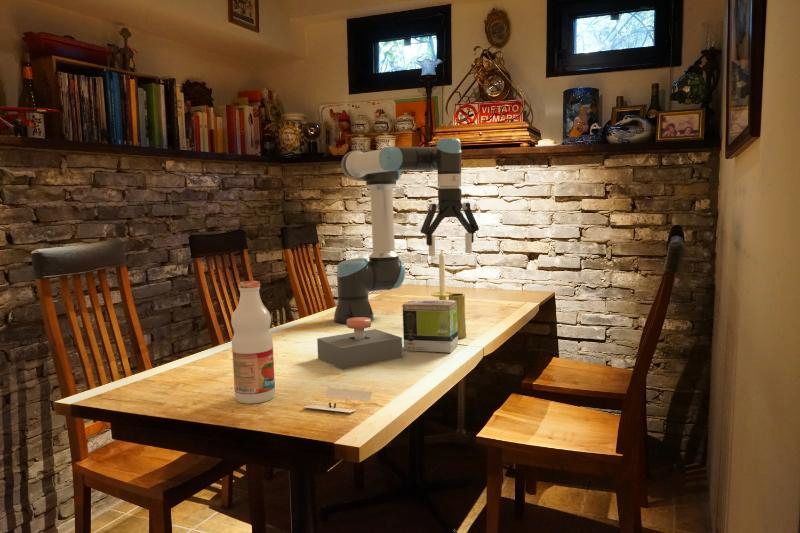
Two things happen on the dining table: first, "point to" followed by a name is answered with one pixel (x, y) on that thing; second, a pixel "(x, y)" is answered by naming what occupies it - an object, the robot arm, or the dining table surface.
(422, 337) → the tea box
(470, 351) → the dining table surface
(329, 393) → the beige flat rectangular pieces
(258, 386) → the fruit juice
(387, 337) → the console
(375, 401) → the dining table surface
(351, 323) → the button
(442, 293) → the candle
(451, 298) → the vase
